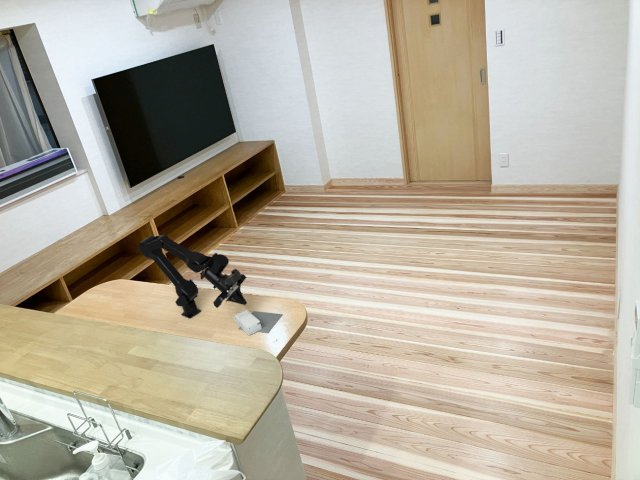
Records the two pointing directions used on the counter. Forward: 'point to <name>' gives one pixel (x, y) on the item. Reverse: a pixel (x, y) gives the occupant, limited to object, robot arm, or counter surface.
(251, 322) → the skincare box
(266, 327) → the slate mat
